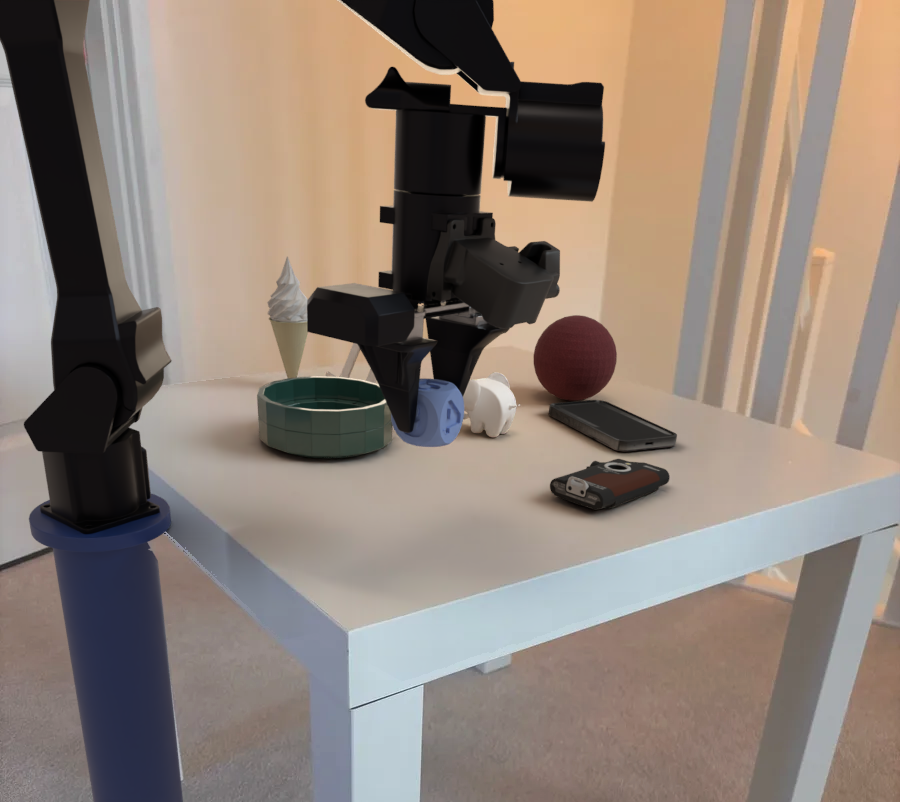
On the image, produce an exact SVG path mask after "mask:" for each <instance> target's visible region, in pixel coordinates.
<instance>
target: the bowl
mask: <svg viewBox="0 0 900 802" xmlns="http://www.w3.org/2000/svg"><path fill="white" fill-rule="evenodd" d="M256 400H257V422H258V423H257V424H258V438H259V440H260V441H262V442H263V443H264V444H265V445H266V446H267V447H269V448H273V449H275V450H278V451H281V452H284V453H287V454H290V455H294V456H298V457H302V458H310V459H344V458H352V457H353V458H354V457H358V456H362V455H365V454H369V453H372V452H376V451H377V450H381V449H384V448H385V447H386V446H388V445H389V444H390V443H391V442H392V441H393V430H394V428H393V425H392V421H391V412H390V409H389V407H388V405H387V403H386V400H385V398H384V396H383V393H382V391H381V389H380V387H379V384H378V383H377V382H375V383H372V382H369V381H366V379H365V380H364V379H359V378H352V377H349V378H344V377H339V376H336V377H327V376H326V375H324V376H323V375H313V376H312V375H311V376H299V377H298V376H297V378H283V379H279V380H274V381H270V382H268V383H266V384H264V385H263V386H260V387H259V388H258V391H257V395H256Z"/></svg>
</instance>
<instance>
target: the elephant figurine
mask: <svg viewBox="0 0 900 802" xmlns="http://www.w3.org/2000/svg"><path fill="white" fill-rule="evenodd" d="M510 388H511V385H510V382H509V380H508V378H507V377H506V375H504V374H503V373H501V372H498V371H494V372H492V373H490V374H488V376H487V377H486V378H485V377H484V378H483V377H482V378H481V377H480V378H477V379H473V378H472V379H470V380H469V383H468V385H467V388H466V390H465V393H464V396H463V400H464V417H463V420H467V419H469V422H470V430H471V432H472V433H473V434H481V433H483V431H485V434H486V435H487V436H488V437H490V438H497V437H499V435H500V434H501V435H504V434H507V433H508V432H509V430H510V429H511V426H512V425H513V421H514V419H515V415H516V412H517V407H521V404H520V403H519V404H518V405H517V400H516V397H515V394H514V392H513V391H512V390H511V389H510Z"/></svg>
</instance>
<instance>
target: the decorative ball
mask: <svg viewBox="0 0 900 802" xmlns="http://www.w3.org/2000/svg"><path fill="white" fill-rule="evenodd" d="M617 359H618V354H617V346H616V343H615V340H614V338H613V336H612V334H611V333H610V332H609V330H608V328H606V327H605V326H604V325H603V324H602V323H601V322H599V321H598V320H596V319H595V318H592V317H589V316H586V315H580V314H579V315H578V314H576V315H573V314H572V315H568V316H564V317H561V318H559V319H557V320H555V321H553V322H552V323H550V324H549V325H548V326H546V328H545V329H544V330H543V332H542V333H541V335H540V336H539V338H538V339H537V342H536V344H535V347H534V352H533V368H534V372H535V375H536V377H537V380H538V382H539V383H540V384H541V386H542V387H543V389H545V390H546V391H547V392H548V393H549V394H551V395H553V396H554V397H556V398H558V399H560V400H564V401H567V402H575V401H585V400H587V399H590V398H592V397H594V396H595V395H597V394H599V393H600V392H601V391H602V390H604V388H605V387H606V386H607V385H608V384H609V382H610V381H611V379H612V378H613V375H614V374H615V370H616V366H617Z"/></svg>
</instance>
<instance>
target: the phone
mask: <svg viewBox="0 0 900 802" xmlns="http://www.w3.org/2000/svg"><path fill="white" fill-rule="evenodd" d="M548 416H550V417H551V418H553V419H555V420H557V421H559V422H561V423H563V424H564V425H567V426H568V427H570V428H572V429H573V430H576V431H578V432H580V433H581V434H583V435H586V436H587V437H589V438H591V439H593V440H595V441H597V442H599V443H600V444H603V445H605V446H607V447H609V448H611V449H612V450H615V451H618V452H623V453H624V452H627V453H628V452H636V451H637V452H638V451H646V450H654V449H655V450H656V449H664V448H671V447H672V448H673V447H676V445H677V444H676V443H677V438H678V434H677V433H676V432H674V431H672V430H670V429H668V428H665V427H664V426H661V425H659V424H656V423H655V422H652V421H650V420H648V419H646V418H644V417H641V416H639V415H637V414H634V413H633V412H630V411H628V410H626V409H625V408H622V407H619V406H617V405H616V404H613V403H610V402H608V401H606V400H603V399H602V400H601V399H589V400H587V399H586V400H579V401H564V402H563V401H561V402H553V403H550V404H549V405H548Z"/></svg>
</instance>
